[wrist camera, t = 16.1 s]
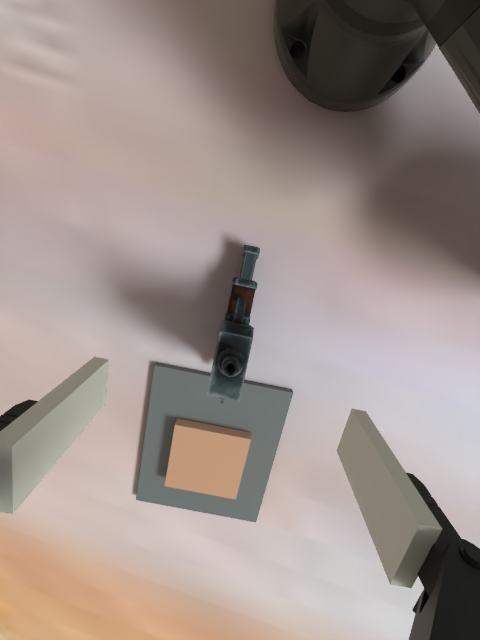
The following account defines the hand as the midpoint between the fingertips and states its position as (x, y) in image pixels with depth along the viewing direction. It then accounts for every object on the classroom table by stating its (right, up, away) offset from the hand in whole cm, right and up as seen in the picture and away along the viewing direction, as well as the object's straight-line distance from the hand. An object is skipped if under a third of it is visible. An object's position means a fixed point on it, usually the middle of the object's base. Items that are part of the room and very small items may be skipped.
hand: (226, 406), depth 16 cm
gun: (0, +6, +21) cm, 22 cm away
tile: (-3, -10, +23) cm, 25 cm away
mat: (-4, -13, +26) cm, 29 cm away
